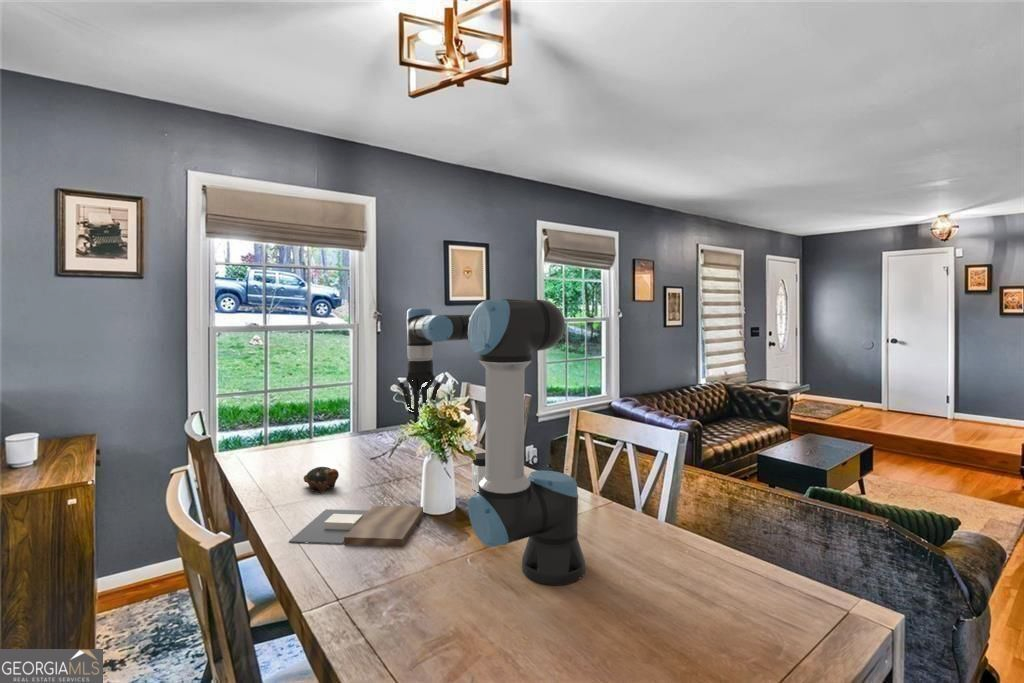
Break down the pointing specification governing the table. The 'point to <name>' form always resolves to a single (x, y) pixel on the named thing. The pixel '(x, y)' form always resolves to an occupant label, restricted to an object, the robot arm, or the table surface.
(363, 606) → the table surface
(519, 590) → the table surface
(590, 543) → the table surface
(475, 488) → the jar
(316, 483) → the decorative turtle
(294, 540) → the place mat
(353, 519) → the cream rectangular block
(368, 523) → the serving board
